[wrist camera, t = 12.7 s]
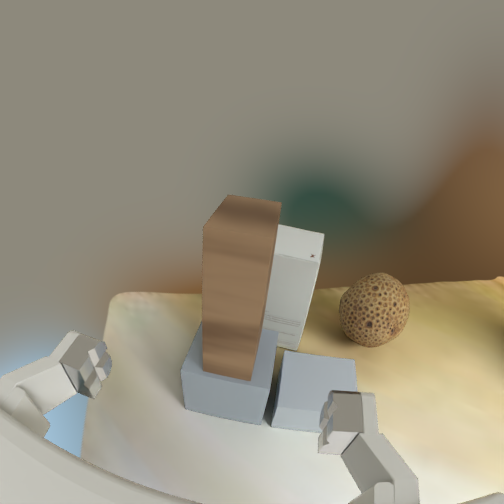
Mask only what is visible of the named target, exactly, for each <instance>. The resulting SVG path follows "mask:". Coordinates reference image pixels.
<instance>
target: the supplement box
mask: <svg viewBox="0 0 504 504" xmlns="http://www.w3.org/2000/svg"><path fill="white" fill-rule="evenodd" d="M323 241H324V234H321V233H317V232H312V231H307V230H302V229H298V228H294V227H289V226H284V225H279V224H278V231H277V237H276V244H275V251H274V257H273V264H272V270H271V277H270V283H269V289H268V296H267V302H266V308H265V314H264V320H263V326H262V329H266V330H272V331H278V332H279V334H278V341H277V346H278V347H282V348H286V349H290V350H294V351H297V349H298V346H299V343H300V339H301V336H302V333H303V329H304V326H305V322H306V318H307V315H308V311H309V307H310V303H311V299H312V295H313V291H314V287H315V283H316V279H317V275H318V271H319V266H320V262H321V256H322V249H323Z"/></svg>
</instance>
